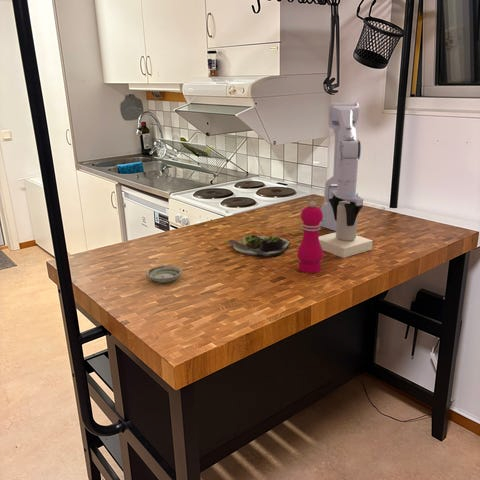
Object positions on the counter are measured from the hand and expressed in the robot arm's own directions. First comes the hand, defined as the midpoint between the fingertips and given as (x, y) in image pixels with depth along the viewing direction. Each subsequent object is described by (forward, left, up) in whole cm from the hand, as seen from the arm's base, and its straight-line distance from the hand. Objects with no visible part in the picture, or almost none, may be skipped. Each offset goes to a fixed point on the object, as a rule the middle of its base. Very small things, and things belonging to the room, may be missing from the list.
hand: (344, 222), depth 150 cm
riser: (0, 0, -9) cm, 9 cm away
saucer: (-11, -58, -9) cm, 60 cm away
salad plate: (-15, -21, -9) cm, 27 cm away
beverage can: (0, +1, -6) cm, 6 cm away
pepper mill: (+7, -21, -9) cm, 24 cm away
